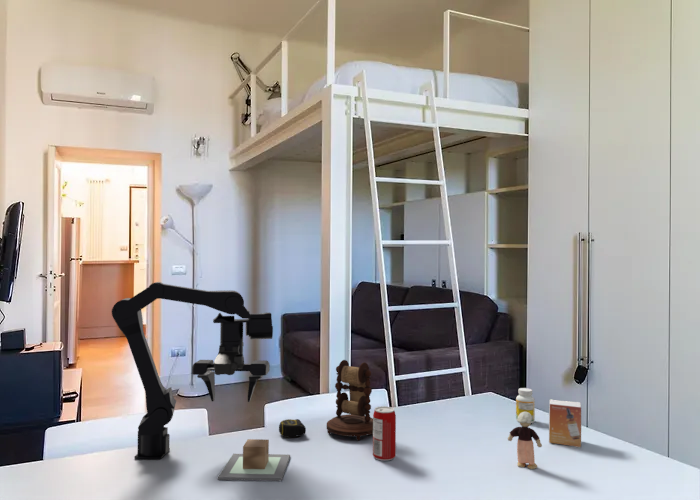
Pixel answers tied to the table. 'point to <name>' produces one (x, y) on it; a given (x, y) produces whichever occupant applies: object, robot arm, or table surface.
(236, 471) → the mat
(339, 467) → the table surface
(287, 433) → the tape measure
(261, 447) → the cube
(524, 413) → the grandmother figurine
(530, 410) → the supplement bottle
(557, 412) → the small box
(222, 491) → the table surface
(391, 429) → the soda can
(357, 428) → the wooden spool holder
